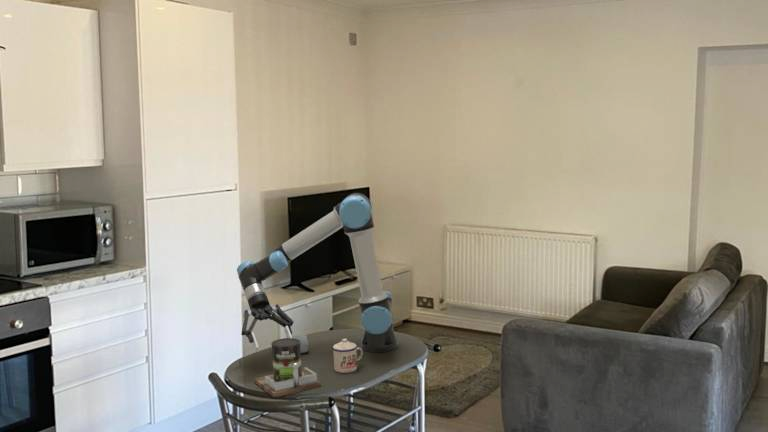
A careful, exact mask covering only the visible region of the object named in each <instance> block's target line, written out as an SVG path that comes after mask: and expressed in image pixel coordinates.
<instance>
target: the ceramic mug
mask: <svg viewBox="0 0 768 432" xmlns="http://www.w3.org/2000/svg"><path fill="white" fill-rule="evenodd" d="M291 336H292V338H294V339H298V340H300V342H301V343H300V349H301V354H306V353H307V352H309V350H310V346H311V345H310V339H309V337H308V335H306V334H299V335H291Z"/></svg>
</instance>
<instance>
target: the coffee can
mask: <svg viewBox="0 0 768 432" xmlns="http://www.w3.org/2000/svg"><path fill="white" fill-rule="evenodd" d="M300 343H301V342H300V340H298V339H294V338H287V337H285V338H279V339H275V340H272V341H271V343H270V344H271V345H270V346H271V352H272V372H273V374H272V375H274V381H275V382H279V381H283V380H288V379H292V378H293V368H292V364H293V363H298V365H299V368H298V376H299V377H301V376H302V370H303V369H302V353H301V349H300Z"/></svg>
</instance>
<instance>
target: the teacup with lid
mask: <svg viewBox="0 0 768 432" xmlns="http://www.w3.org/2000/svg"><path fill="white" fill-rule="evenodd" d="M332 350H333V366H334V367H333V369H334V371H335V372H337V373H342V374H344V373H345V374H347V373H352V372H355V371H356V370H357V369H358V361H360V360H361V359H362V357H363V354H364V353H363V351H364V350H363V349H362V348H361V347H358V346H357V344H356V343H354V342H351V341H349V340H348V339H347V338H342V339H341V340H340V341H339V342H338V343H335V344H334V345H333V347H332ZM358 351H359V355H358V354H357V353H358Z"/></svg>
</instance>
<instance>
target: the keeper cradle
mask: <svg viewBox="0 0 768 432" xmlns="http://www.w3.org/2000/svg"><path fill="white" fill-rule="evenodd" d="M292 368H293V378H292V379H288V380H283V381H279V382H275V381H274V380H273V379H271V378H270V377H269V375H264V376H265V385H267V386H268V387H269V388H271V389H272V390H273V391H275V392H277V391H281V390H285V389H290V388H298V387H299V386H303V385H307V384H311V383H316V382H317V380H318V374H317V373H316V372H315V371H313V370H312V369H309V368H308V367H306V366H305V367H303V371H304V376H301V377H299V376H298V368H299V365H298V363H293V364H292Z"/></svg>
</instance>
